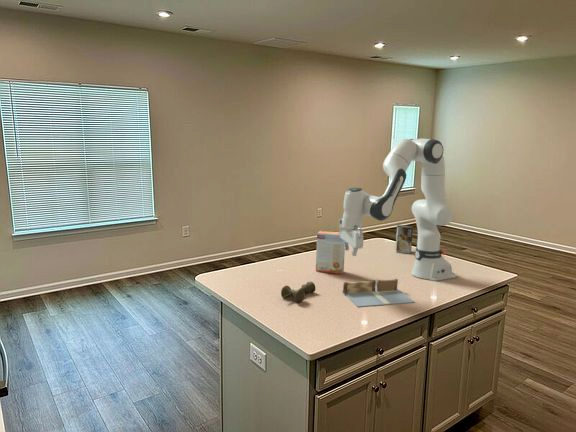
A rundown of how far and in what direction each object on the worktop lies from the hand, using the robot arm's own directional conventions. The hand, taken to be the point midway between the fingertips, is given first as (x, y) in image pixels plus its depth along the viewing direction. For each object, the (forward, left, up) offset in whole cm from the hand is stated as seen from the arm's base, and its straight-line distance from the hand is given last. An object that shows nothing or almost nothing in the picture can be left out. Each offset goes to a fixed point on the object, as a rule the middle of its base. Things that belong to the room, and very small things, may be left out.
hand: (350, 252), depth 201 cm
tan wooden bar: (-3, +6, -17) cm, 18 cm away
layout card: (-10, +12, -18) cm, 23 cm away
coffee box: (-58, -54, -18) cm, 81 cm away
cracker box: (0, -26, -18) cm, 31 cm away
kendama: (+26, +6, -18) cm, 32 cm away
